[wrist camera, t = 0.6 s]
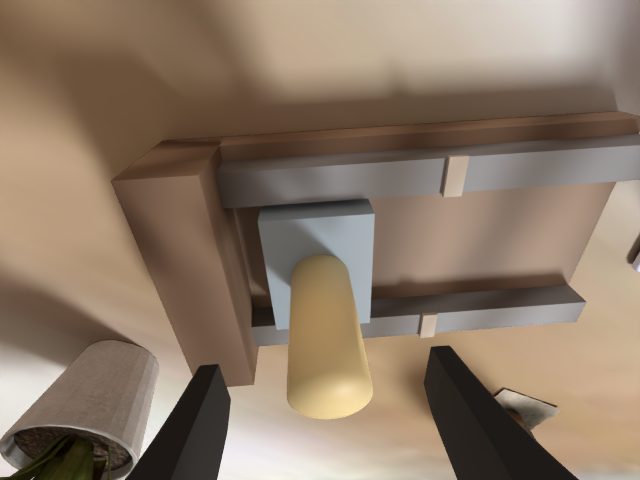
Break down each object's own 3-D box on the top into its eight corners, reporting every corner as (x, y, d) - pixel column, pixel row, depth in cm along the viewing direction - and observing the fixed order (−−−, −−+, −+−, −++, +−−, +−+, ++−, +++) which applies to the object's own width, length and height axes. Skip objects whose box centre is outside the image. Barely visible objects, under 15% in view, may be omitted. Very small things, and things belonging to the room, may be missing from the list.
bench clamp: (618, 111, 16) (734, 139, 12) (541, 296, 22) (597, 358, 18) (162, 140, 15) (110, 180, 11) (217, 320, 22) (198, 389, 18)
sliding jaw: (366, 194, 16) (417, 316, 9) (363, 297, 19) (398, 441, 12) (262, 201, 16) (233, 330, 9) (278, 303, 19) (267, 451, 12)
